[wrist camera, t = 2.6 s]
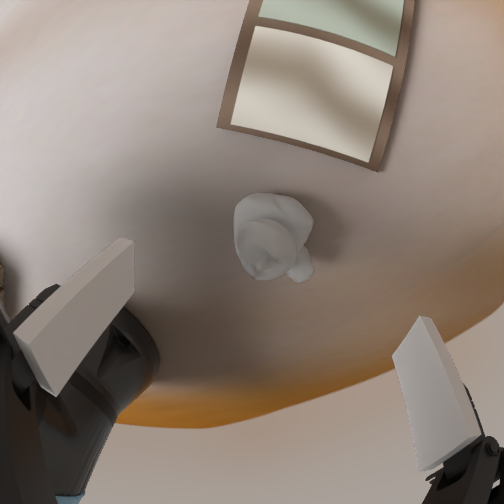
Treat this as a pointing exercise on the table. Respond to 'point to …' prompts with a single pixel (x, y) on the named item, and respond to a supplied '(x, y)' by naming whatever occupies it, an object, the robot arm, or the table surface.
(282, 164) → the table surface
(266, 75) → the game board
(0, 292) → the block tower
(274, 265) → the white lumpy piece
